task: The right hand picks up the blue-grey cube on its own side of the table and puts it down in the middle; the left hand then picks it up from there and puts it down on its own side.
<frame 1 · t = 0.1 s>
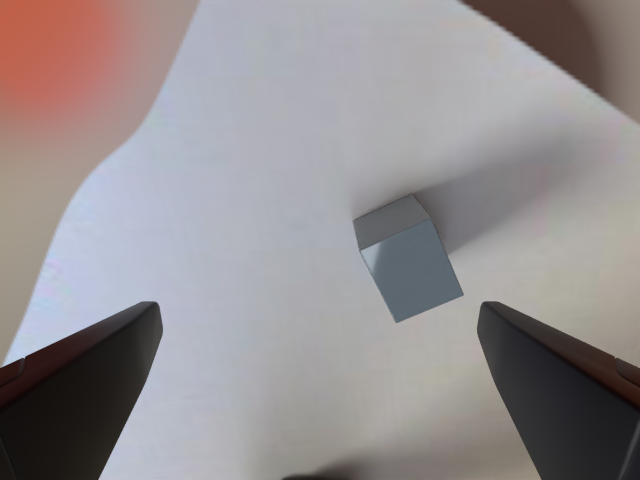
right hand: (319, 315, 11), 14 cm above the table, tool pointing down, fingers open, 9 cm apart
blue-grey cube: (397, 240, 26), on the table
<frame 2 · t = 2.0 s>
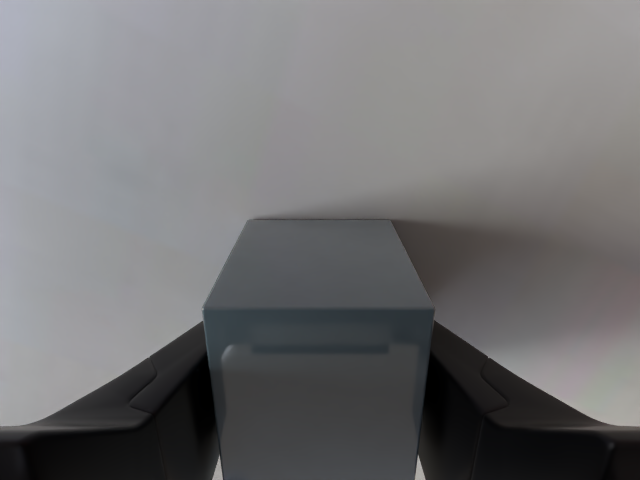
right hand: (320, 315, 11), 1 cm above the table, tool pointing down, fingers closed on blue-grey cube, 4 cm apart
blue-grey cube: (319, 297, 12), on the table, touching right hand
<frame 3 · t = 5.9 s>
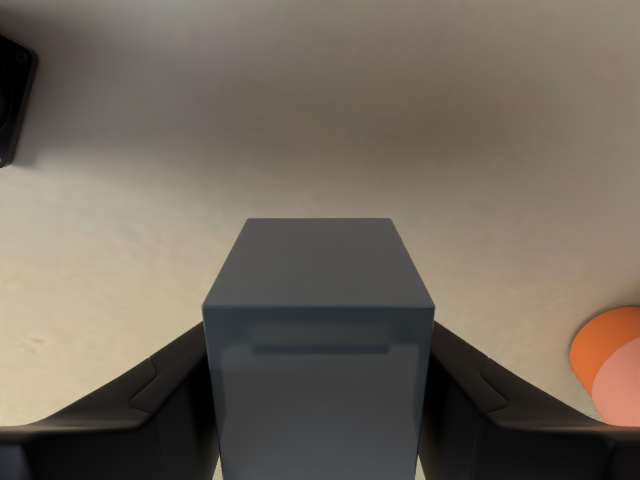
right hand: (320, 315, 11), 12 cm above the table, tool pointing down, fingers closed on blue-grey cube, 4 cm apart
blue-grey cube: (319, 296, 12), point 11 cm above the table, touching right hand
cup with straw: (614, 344, 26), on the table
when the right hand's fingers open (2 cm above the table, at t = 9.7 s): blue-grey cube stays where it is, on the table.
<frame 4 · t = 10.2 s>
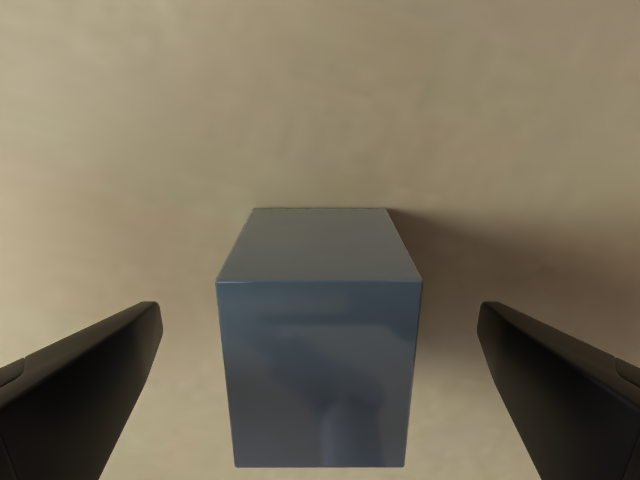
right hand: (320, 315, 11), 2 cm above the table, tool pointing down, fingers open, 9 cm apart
blue-grey cube: (319, 281, 13), on the table
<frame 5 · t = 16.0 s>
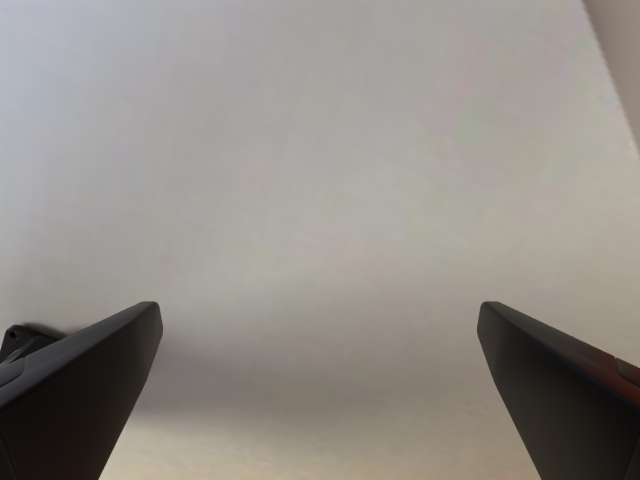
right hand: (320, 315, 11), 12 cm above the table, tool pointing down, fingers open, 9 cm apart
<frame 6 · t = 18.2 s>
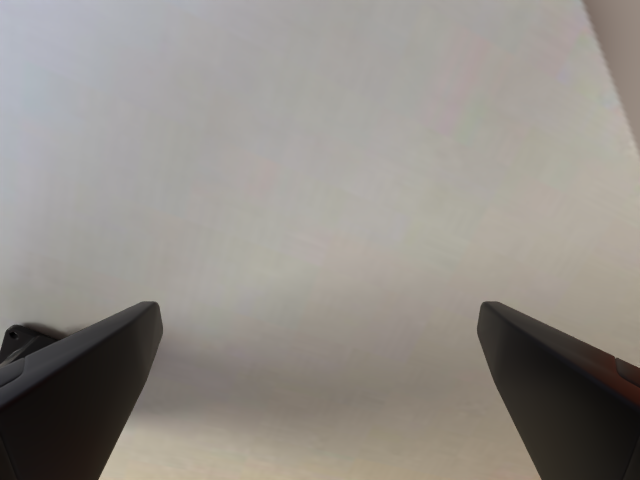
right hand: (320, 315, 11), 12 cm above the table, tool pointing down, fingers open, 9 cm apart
when the left hand's fingers open (2 cm above the table, at t = 20.5 s): blue-grey cube stays where it is, on the table.
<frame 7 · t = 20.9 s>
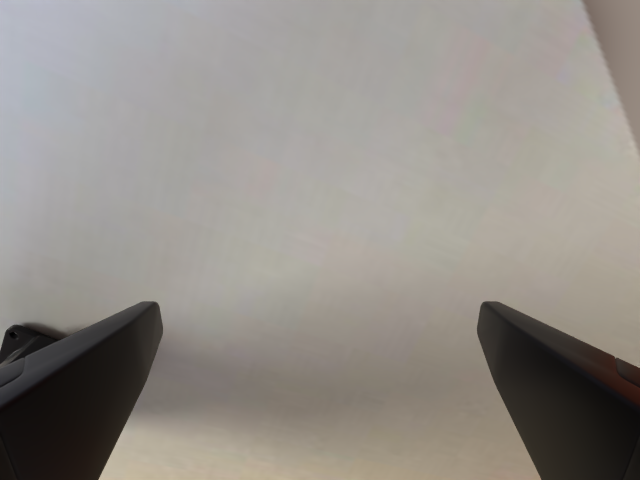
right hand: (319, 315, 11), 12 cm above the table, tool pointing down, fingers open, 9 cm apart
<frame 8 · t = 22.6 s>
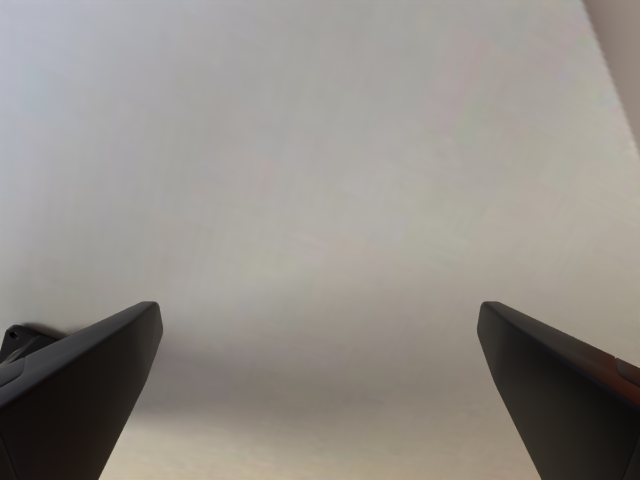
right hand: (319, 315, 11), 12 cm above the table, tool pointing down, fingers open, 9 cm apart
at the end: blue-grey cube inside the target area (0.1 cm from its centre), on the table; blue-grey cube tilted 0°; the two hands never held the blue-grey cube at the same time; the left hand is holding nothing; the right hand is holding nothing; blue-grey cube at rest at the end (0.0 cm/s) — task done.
